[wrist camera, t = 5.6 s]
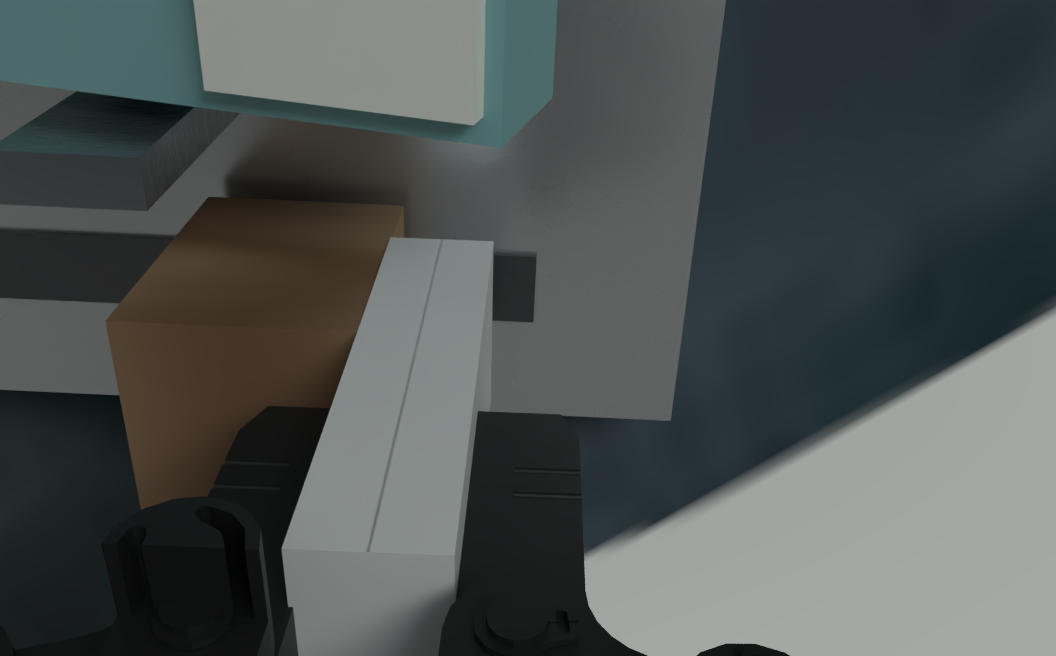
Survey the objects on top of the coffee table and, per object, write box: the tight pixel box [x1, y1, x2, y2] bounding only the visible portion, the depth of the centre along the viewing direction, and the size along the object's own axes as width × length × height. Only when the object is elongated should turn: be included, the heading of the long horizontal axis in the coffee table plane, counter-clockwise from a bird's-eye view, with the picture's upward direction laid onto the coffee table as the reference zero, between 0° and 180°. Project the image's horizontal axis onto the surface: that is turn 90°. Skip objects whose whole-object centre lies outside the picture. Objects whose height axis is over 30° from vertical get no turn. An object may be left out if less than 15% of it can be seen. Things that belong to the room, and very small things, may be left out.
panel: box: [0, 0, 726, 421], centre depth 13 cm, size 17×14×7 cm
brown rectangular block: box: [105, 197, 404, 510], centre depth 14 cm, size 3×3×4 cm
